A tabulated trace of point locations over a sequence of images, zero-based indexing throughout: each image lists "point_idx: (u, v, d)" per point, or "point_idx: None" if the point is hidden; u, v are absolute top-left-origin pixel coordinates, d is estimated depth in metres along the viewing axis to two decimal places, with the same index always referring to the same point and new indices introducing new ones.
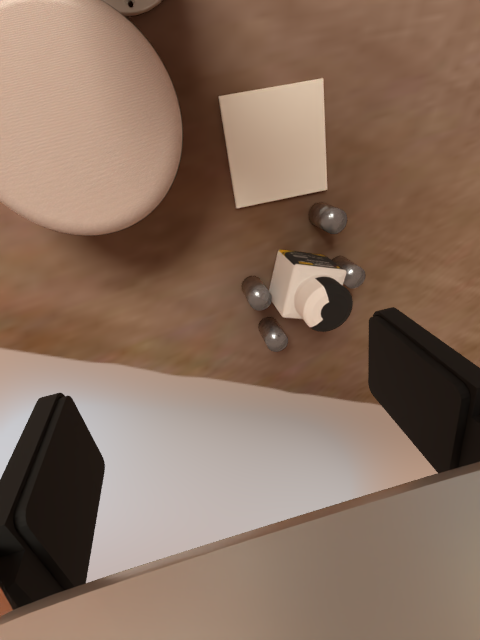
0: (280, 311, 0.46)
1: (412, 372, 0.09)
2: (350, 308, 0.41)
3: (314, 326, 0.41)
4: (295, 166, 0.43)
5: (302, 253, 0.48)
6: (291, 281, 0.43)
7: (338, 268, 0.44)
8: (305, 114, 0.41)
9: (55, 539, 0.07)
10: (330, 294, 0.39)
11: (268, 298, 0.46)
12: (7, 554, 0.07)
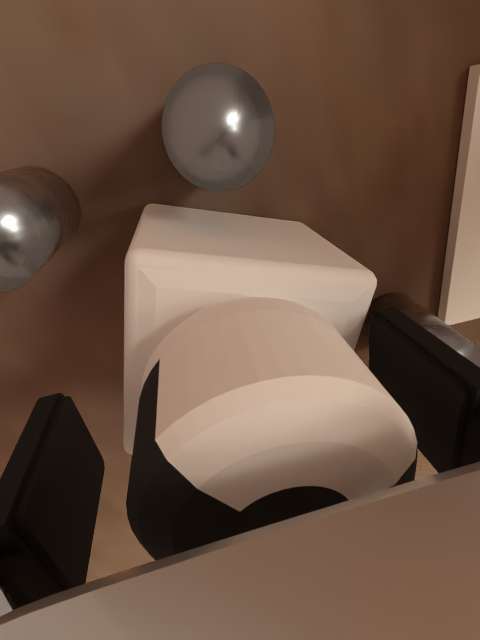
0: (147, 242, 0.09)
1: (413, 372, 0.09)
2: None
3: (173, 471, 0.06)
4: None
5: None
6: (312, 274, 0.10)
7: None
8: None
9: (54, 539, 0.07)
10: None
11: (226, 176, 0.10)
12: (6, 555, 0.07)
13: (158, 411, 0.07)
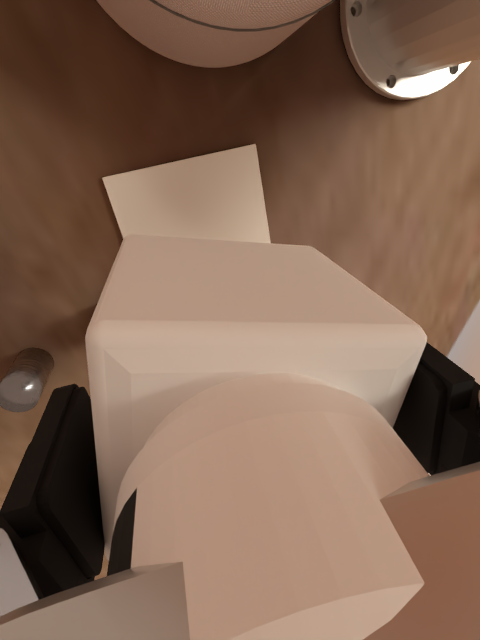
0: (117, 306, 0.07)
1: None
2: None
3: None
4: None
5: None
6: (343, 337, 0.07)
7: None
8: None
9: (74, 522, 0.08)
10: None
11: None
12: (30, 535, 0.07)
13: None
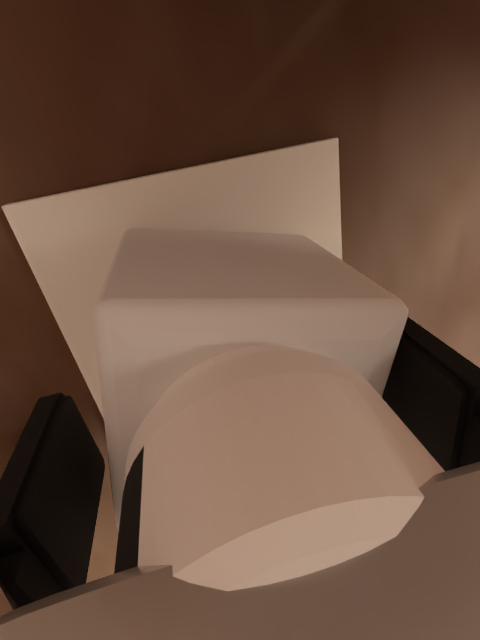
0: (121, 288, 0.07)
1: (412, 372, 0.09)
2: None
3: None
4: None
5: None
6: (329, 310, 0.08)
7: None
8: None
9: (55, 539, 0.07)
10: None
11: None
12: (7, 554, 0.07)
13: (140, 548, 0.05)
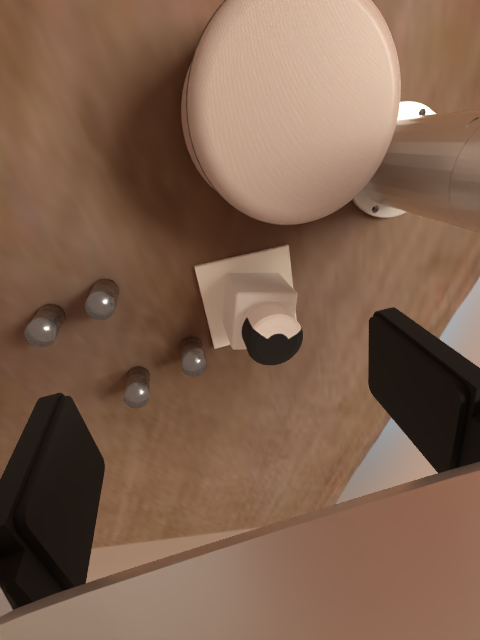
0: (239, 290, 0.39)
1: (412, 372, 0.09)
2: (276, 363, 0.37)
3: (256, 332, 0.35)
4: None
5: None
6: (279, 294, 0.39)
7: None
8: None
9: (55, 539, 0.07)
10: (295, 338, 0.36)
11: (103, 316, 0.39)
12: (7, 554, 0.07)
13: (251, 324, 0.36)
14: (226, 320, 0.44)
